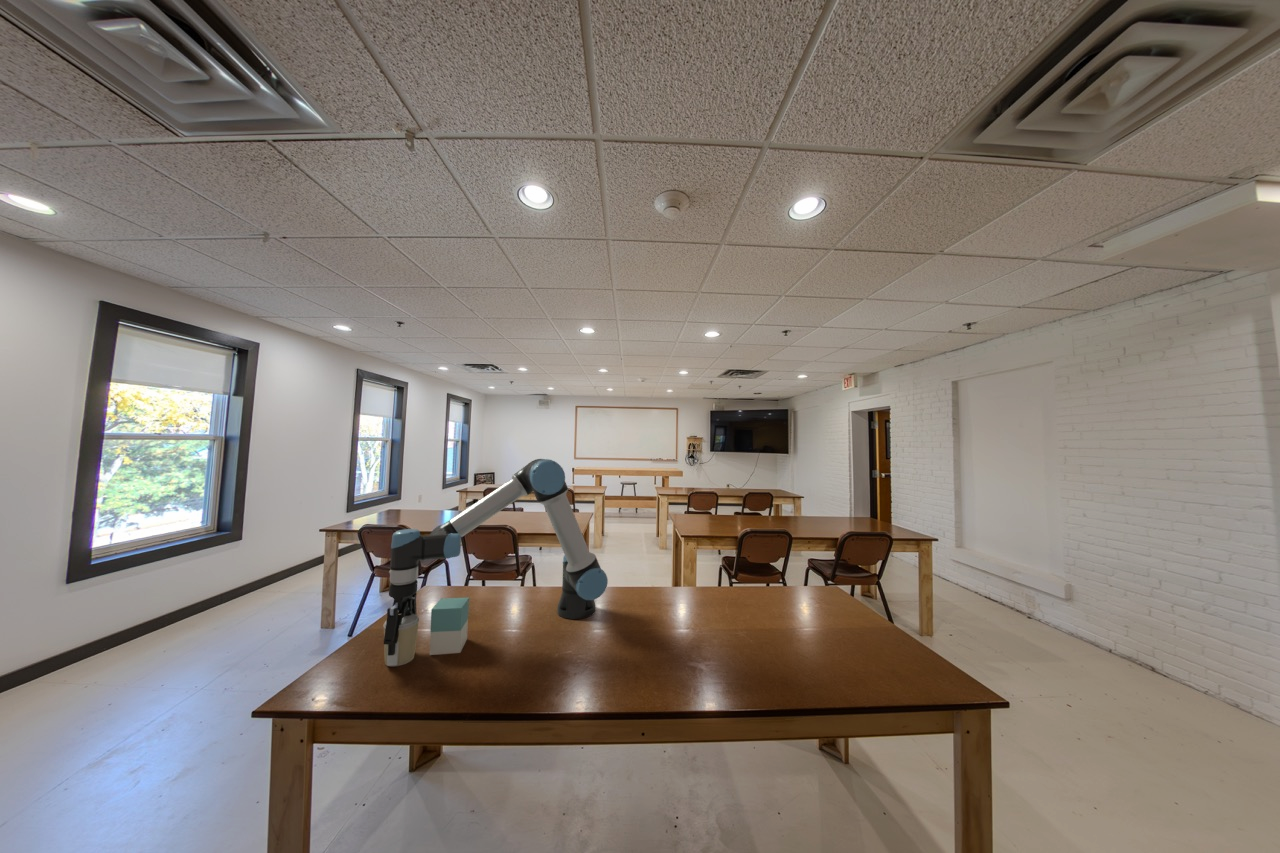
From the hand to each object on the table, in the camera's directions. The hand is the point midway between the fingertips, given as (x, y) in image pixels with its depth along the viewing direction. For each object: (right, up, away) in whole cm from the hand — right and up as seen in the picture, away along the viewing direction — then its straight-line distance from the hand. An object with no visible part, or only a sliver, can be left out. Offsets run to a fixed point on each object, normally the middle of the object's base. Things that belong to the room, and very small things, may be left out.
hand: (399, 656), depth 121 cm
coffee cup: (0, -1, 0) cm, 1 cm away
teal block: (+11, +5, +9) cm, 15 cm away
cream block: (+11, -2, +8) cm, 14 cm away
